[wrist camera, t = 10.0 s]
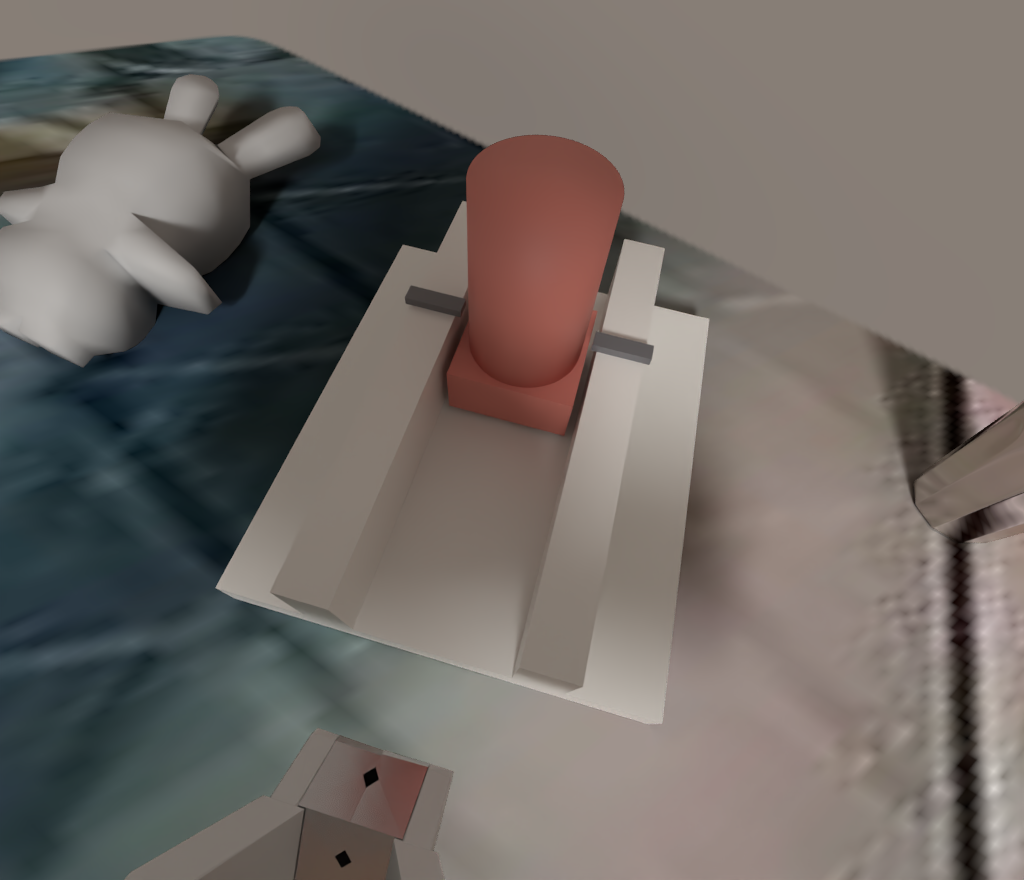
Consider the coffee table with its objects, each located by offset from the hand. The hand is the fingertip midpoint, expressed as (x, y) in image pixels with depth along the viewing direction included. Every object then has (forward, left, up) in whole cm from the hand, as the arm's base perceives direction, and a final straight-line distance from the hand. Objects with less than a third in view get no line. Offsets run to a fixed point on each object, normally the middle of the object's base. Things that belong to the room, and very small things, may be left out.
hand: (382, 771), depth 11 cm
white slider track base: (0, +11, -6) cm, 12 cm away
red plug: (0, +13, -4) cm, 14 cm away
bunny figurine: (-18, +17, -6) cm, 25 cm away
